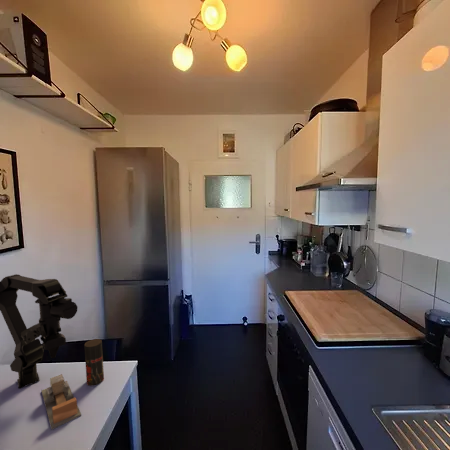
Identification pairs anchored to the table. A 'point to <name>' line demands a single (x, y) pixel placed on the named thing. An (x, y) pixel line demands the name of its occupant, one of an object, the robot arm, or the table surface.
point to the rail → (61, 408)
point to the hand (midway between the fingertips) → (52, 356)
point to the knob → (57, 387)
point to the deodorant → (94, 362)
